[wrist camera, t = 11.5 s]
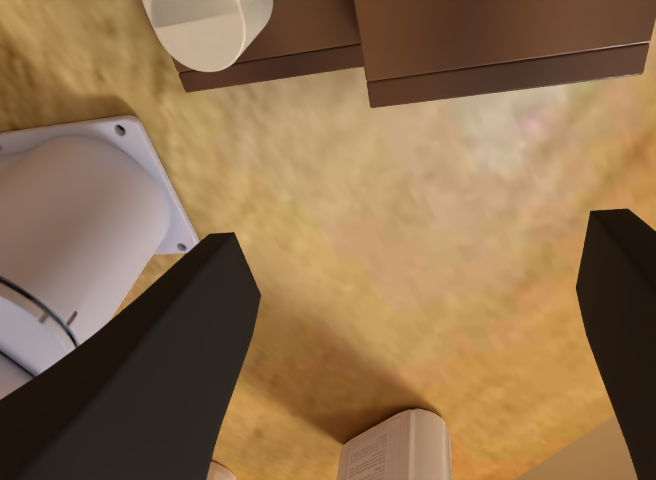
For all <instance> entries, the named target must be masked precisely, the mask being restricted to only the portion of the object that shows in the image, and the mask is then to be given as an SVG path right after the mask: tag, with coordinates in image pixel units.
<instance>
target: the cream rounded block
mask: <svg viewBox="0 0 656 480" xmlns="http://www.w3.org/2000/svg"><path fill="white" fill-rule="evenodd" d="M141 1H142V3H143V6H144V8H145V10H146V13H147V15H148V18H149V20H150V22H151V25H152V27H153V29H154V32H155V34H156V36H157V38H158V39H159V41H160V43H161V44H162V46H163V47H164V48H165V50H166V51H167V52H168V53H169V54H170V55H171V56H172V57H173V58H174V59H176V60H177V61H178V62H180V63H181V64H183V65H185V66H187V67H189V68H191V69H194V70H197V71H203V72H215V71H220V70H223V69H225V68H227V67H229V66H230V65H231V64H233V63H234V62H235V61H236V60H237V58H238V57H239V56H240V55H241V54H242V53H243V51H244V50H245V49H246V48H247V47H248V46H249V44H250V43H251V42H252V41H253V40H254V39H255V37H256V36H257V35H258V34H259V33H260V32H261V30H262V29H263V28H264V27H265V26H266V24H267V22H268V21H269V18H270V16H271V13H272V8H273V0H141Z"/></svg>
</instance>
